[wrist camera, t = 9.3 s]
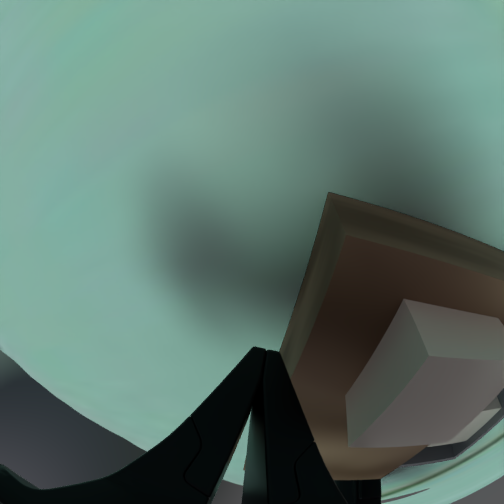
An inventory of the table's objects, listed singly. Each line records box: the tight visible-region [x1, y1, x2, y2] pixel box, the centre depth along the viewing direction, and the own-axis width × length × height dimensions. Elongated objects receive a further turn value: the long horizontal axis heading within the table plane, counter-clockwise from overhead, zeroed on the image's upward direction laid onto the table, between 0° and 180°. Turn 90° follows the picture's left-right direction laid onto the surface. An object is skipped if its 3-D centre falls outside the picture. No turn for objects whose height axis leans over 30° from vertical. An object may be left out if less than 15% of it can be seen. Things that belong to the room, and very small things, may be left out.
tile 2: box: [427, 396, 502, 447], centre depth 14 cm, size 5×5×2 cm
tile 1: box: [345, 299, 504, 448], centre depth 7 cm, size 5×5×2 cm
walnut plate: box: [243, 192, 504, 480], centre depth 13 cm, size 18×11×5 cm, turn 170°
